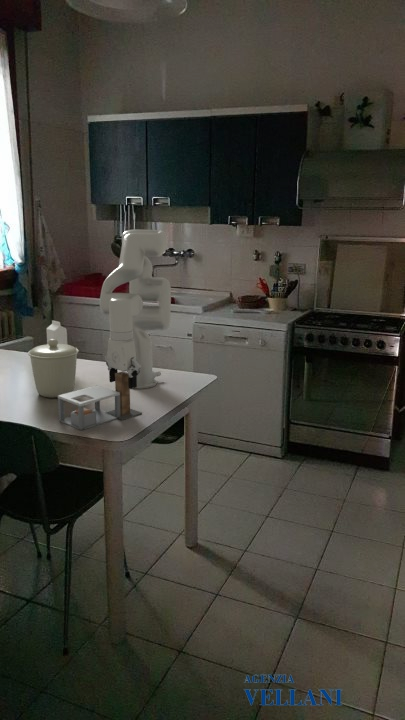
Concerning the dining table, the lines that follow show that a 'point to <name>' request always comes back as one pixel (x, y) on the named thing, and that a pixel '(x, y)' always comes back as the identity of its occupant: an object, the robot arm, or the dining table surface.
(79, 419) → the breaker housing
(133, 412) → the pad
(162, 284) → the robot arm
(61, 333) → the milk
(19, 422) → the dining table surface
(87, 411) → the breaker button
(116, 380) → the brown wooden bar
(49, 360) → the canister
